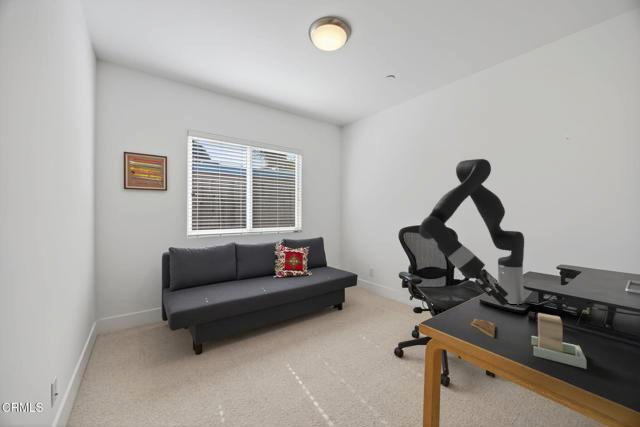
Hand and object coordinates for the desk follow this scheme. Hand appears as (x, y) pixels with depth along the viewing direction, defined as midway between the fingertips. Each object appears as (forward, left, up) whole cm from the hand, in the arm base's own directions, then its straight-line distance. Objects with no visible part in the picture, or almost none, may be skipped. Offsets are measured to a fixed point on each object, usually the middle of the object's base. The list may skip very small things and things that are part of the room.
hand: (505, 299), depth 83 cm
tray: (0, +12, -14) cm, 18 cm away
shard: (-8, -5, -15) cm, 18 cm away
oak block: (0, +11, -14) cm, 18 cm away
